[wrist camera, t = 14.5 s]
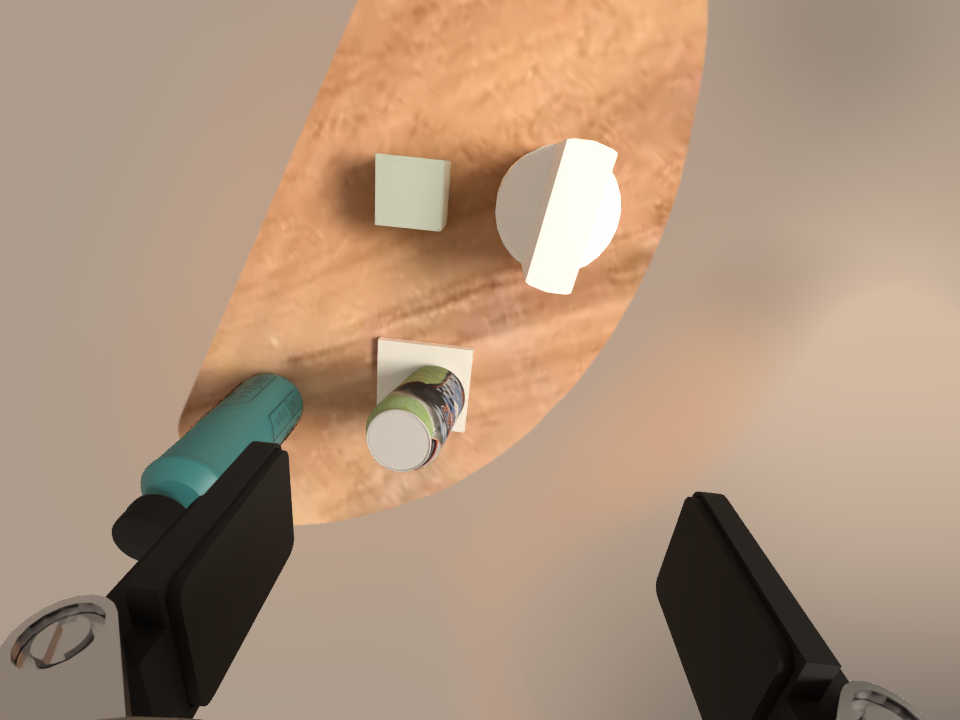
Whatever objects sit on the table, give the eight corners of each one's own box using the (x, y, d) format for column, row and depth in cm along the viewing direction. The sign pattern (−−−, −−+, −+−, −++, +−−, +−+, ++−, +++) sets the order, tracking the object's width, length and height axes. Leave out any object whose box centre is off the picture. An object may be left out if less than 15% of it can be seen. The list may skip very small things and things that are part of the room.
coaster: (380, 336, 44) (378, 339, 43) (473, 347, 44) (473, 350, 43) (378, 418, 47) (376, 422, 47) (464, 428, 47) (464, 432, 47)
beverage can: (438, 429, 46) (416, 507, 35) (381, 382, 45) (339, 449, 34) (480, 388, 44) (471, 457, 33) (422, 338, 43) (392, 393, 32)
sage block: (390, 154, 38) (375, 153, 33) (451, 161, 38) (444, 160, 33) (389, 218, 40) (375, 224, 35) (447, 224, 40) (440, 231, 35)
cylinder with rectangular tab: (512, 133, 37) (517, 119, 26) (619, 163, 37) (670, 161, 26) (484, 244, 40) (478, 274, 29) (582, 270, 41) (613, 309, 30)
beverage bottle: (254, 354, 45) (85, 485, 27) (320, 379, 46) (199, 522, 27) (242, 408, 48) (79, 561, 29) (304, 430, 48) (184, 594, 30)
